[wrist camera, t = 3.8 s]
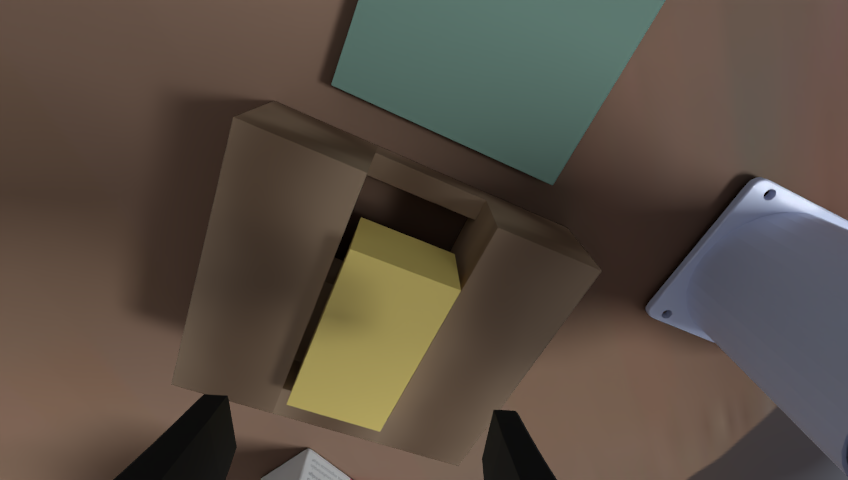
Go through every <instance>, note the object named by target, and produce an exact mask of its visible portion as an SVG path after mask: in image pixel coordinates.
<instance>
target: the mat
mask: <svg viewBox="0 0 848 480" xmlns="http://www.w3.org/2000/svg"><path fill="white" fill-rule="evenodd" d="M664 2H665V0H358V3H357V6H356V9H355V12H354V16H353V19H352V22H351V25H350V28H349V31H348V34H347V37H346V40H345V43H344V47H343V50H342V53H341V56H340V59H339V62H338V65H337V68H336V71H335V74H334V77H333V81H332V84H331V85H332V86H334V87H337V88H339V89H341V90H343V91H345V92H348V93H350V94H352V95H354V96H356V97H359V98H361V99H363V100H365V101H367V102H370V103H372V104H374V105H376V106H378V107H381V108H383V109H385V110H387V111H389V112H392V113H394V114H396V115H398V116H401V117H403V118H405V119H407V120H409V121H412V122H414V123H416V124H418V125H420V126H423V127H425V128H427V129H429V130H431V131H434V132H436V133H438V134H440V135H442V136H445V137H447V138H449V139H451V140H453V141H456V142H458V143H460V144H462V145H464V146H467V147H469V148H471V149H473V150H476V151H478V152H480V153H482V154H484V155H487V156H489V157H491V158H493V159H495V160H498V161H500V162H502V163H504V164H506V165H509V166H511V167H513V168H515V169H517V170H520V171H522V172H524V173H526V174H528V175H531V176H533V177H535V178H537V179H540V180H542V181H544V182H546V183H548V184H551V185H553V184H554V183H555V181H556V179H557V178H558V176H559V174H560V173H561V171H562V169H563V168H564V166H565V164H566V163H567V161H568V160H569V158H570V156H571V155H572V153H573V151H574V150H575V148H576V146H577V145H578V143H579V142H580V140H581V138H582V137H583V135H584V133H585V132H586V130H587V128H588V127H589V125H590V123H591V122H592V120H593V119H594V117H595V115H596V114H597V112H598V110H599V109H600V107H601V105H602V104H603V102H604V100H605V99H606V97H607V96H608V94H609V92H610V91H611V89H612V87H613V86H614V84H615V82H616V81H617V79H618V77H619V76H620V74H621V73H622V71H623V69H624V68H625V66H626V64H627V63H628V61H629V59H630V58H631V56H632V54H633V53H634V51H635V50H636V48H637V46H638V45H639V43H640V41H641V40H642V38H643V36H644V35H645V33H646V32H647V30H648V28H649V27H650V25H651V23H652V22H653V20H654V18H655V17H656V15H657V13H658V12H659V10H660V9H661V7H662V5H663V4H664Z"/></svg>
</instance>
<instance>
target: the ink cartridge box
mask: <svg viewBox="0 0 848 480" xmlns="http://www.w3.org/2000/svg"><path fill="white" fill-rule="evenodd" d="M261 480H352V479H351V478H350V477H348V476H347V475H346V474H344V473H343V472H342V471H340V470H339V469H337V468H336V467H335V466H333V465H332V464H331V463H329V462H328V461H327V460H325V459H324V458H323V457H321V456H320V455H319V454H317V453H316V452H315V451H313V450H311V449H309V448H307V449H306V450H304V451H303V452H301V453H299V454H298V455H296V456H295V457H293V458H292V459H290V460H289V461H287V462H286V463H284V464H283V465H281V466H280V467H278V468H276V469H275V470H273V471H272V472H270V473H269V474H267V475H265V476H264V477H262V478H261Z"/></svg>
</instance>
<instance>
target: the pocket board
mask: <svg viewBox="0 0 848 480" xmlns="http://www.w3.org/2000/svg"><path fill="white" fill-rule="evenodd" d="M366 175H368V176H370V177H373V178H375V179H378V180H380V181H382V182H385V183H387V184H390V185H392V186H394V187H397V188H399V189H402V190H404V191H406V192H409V193H411V194H414V195H416V196H418V197H421V198H423V199H426V200H428V201H430V202H433V203H435V204H438V205H440V206H442V207H445V208H447V209H450V210H452V211H454V212H457V213H459V214H462V215H464V216H466V217H468V219H467V220H466V222H465V224H464V226H463V228H462V230H461V232H460V234H459V235H458V237H457V239H456V241H455V243H454V245H453V247H452V249H451V250H450V252H451V253H453V254H455V258H456V264H457V270H458V276H459V282H460V287H461V292H460V293H459V295H458V297H457V299H456V300H455V302H454V304H453V306H452V307H451V309H450V311H449V313H448V314H447V316H446V318H445V320H444V321H443V323H442V325H441V327H440V328H439V330H438V332H437V334H436V335H435V337H434V339H433V340H432V342H431V344H430V346H429V347H428V349H427V351H426V353H425V354H424V356H423V358H422V360H421V361H420V363H419V365H418V367H417V368H416V370H415V372H414V374H413V375H412V377H411V379H410V381H409V382H408V384H407V386H406V388H405V389H404V391H403V393H402V395H401V396H400V398H399V400H398V401H397V403H396V405H395V407H394V408H393V410H392V412H391V414H390V415H389V417H388V419H387V421H386V422H385V424H384V426H383V428H382V429H381V431H380V432H379V431H375V430H372V429H369V428H365V427H362V426H358V425H355V424H351V423H348V422H344V421H341V420H338V419H334V418H331V417H327V416H324V415H320V414H317V413H313V412H310V411H307V410H303V409H300V408H296V407H293V406H289V405H286V404H287V401H288V399H289V396H290V393H291V391H292V388H293V385H294V382H295V380H296V377H297V374H298V371H299V369H300V366H301V363H302V361H303V358H304V355H305V353H306V350H307V348H308V346H309V343H310V341H311V338H312V336H313V333H314V331H315V328H316V326H317V324H318V321H319V319H320V316H321V314H322V311H323V309H324V306H325V304H326V301H327V299H328V297H329V294H330V292H331V289H332V287H333V284H334V282H335V279H336V277H337V274H338V272H339V270H340V267H341V265H342V262H343V261H342V260H339V259H337V258H334V256H335V254H336V251H337V249H338V246H339V244H340V241H341V239H342V236H343V234H344V231H345V229H346V226H347V224H348V221H349V218H350V216H351V213H352V211H353V208H354V206H355V203H356V201H357V198H358V196H359V193H360V191H361V188H362V186H363V183H364V180H365V178H366ZM601 271H602V270H601V269H600V268H599V267H598V266H597V264H596V263H595V262H594V261H593V259H592V258H591V257H590V256H589V254H588V253H587V252H586V251H585V249H584V248H583V247H582V246H581V244H580V243H579V242H578V241H577V239H576V238H575V237H574V236H573V235H572V233H571V232H570V231H569V230H568V228H567V227H564V226H562V225H560V224H557V223H555V222H553V221H550V220H548V219H546V218H543V217H541V216H539V215H537V214H534V213H532V212H530V211H527V210H525V209H523V208H520V207H518V206H516V205H513V204H511V203H509V202H507V201H504V200H502V199H500V198H497V197H495V196H493V195H490V194H488V193H486V192H483V191H481V190H479V189H477V188H474V187H472V186H470V185H467V184H465V183H463V182H460V181H458V180H456V179H453V178H451V177H449V176H447V175H444V174H442V173H440V172H437V171H435V170H433V169H430V168H428V167H426V166H423V165H421V164H419V163H417V162H414V161H412V160H410V159H407V158H405V157H403V156H400V155H398V154H396V153H393V152H391V151H389V150H387V149H384V148H382V147H380V146H377V145H375V144H373V143H370V142H368V141H366V140H363V139H361V138H359V137H357V136H354V135H352V134H350V133H347V132H345V131H343V130H340V129H338V128H336V127H333V126H331V125H329V124H327V123H324V122H322V121H320V120H317V119H315V118H313V117H310V116H308V115H306V114H303V113H301V112H299V111H297V110H294V109H292V108H290V107H287V106H285V105H283V104H280V103H278V102H276V101H272V102H270V103H267V104H265V105H262V106H260V107H257V108H255V109H252V110H250V111H247V112H245V113H242V114H239V115H237V116H234V117H233V120H232V124H231V128H230V133H229V137H228V141H227V146H226V150H225V154H224V159H223V163H222V167H221V172H220V176H219V180H218V185H217V189H216V193H215V198H214V202H213V206H212V211H211V215H210V219H209V224H208V228H207V232H206V236H205V241H204V245H203V249H202V254H201V258H200V262H199V267H198V271H197V275H196V280H195V284H194V288H193V293H192V297H191V301H190V306H189V310H188V314H187V319H186V323H185V327H184V332H183V336H182V340H181V344H180V349H179V353H178V357H177V362H176V366H175V370H174V375H173V379H172V383H171V385H174V386H178V387H182V388H185V389H189V390H192V391H196V392H199V393H203V394H208V395H227V396H228V399H229V401H231V402H234V403H238V404H241V405H245V406H248V407H252V408H255V409H259V410H262V411H266V412H269V413H273V414H276V415H280V416H284V417H287V418H291V419H294V420H298V421H301V422H305V423H308V424H312V425H315V426H319V427H322V428H326V429H329V430H333V431H336V432H340V433H343V434H347V435H350V436H354V437H357V438H361V439H364V440H368V441H371V442H375V443H378V444H382V445H386V446H389V447H393V448H396V449H400V450H403V451H407V452H410V453H414V454H417V455H421V456H424V457H428V458H431V459H435V460H438V461H442V462H445V463H449V464H452V465H456V466H459V465H460V463H461V462H462V460H463V459H464V458H465V456H466V455H467V454H468V452H469V451H470V450H471V448H472V447H473V445H474V444H475V443H476V441H477V440H478V439H479V437H480V436H481V435H482V433H483V432H484V431H485V429H486V428H487V426H488V425H489V424H490V422H491V419H492V414H493V410H500V409H501V407H502V406H503V405H504V403H505V402H506V401H507V399H508V398H509V397H510V395H511V394H512V392H513V391H514V390H515V388H516V387H517V386H518V384H519V383H520V382H521V380H522V379H523V377H524V376H525V375H526V373H527V372H528V371H529V369H530V368H531V367H532V365H533V364H534V363H535V361H536V360H537V358H538V357H539V356H540V354H541V353H542V352H543V350H544V349H545V348H546V346H547V345H548V343H549V342H550V341H551V339H552V338H553V337H554V335H555V334H556V333H557V331H558V330H559V329H560V327H561V326H562V324H563V323H564V322H565V320H566V319H567V318H568V316H569V315H570V314H571V312H572V311H573V309H574V308H575V307H576V305H577V304H578V303H579V301H580V300H581V299H582V297H583V296H584V294H585V293H586V292H587V290H588V289H589V288H590V286H591V285H592V284H593V282H594V281H595V280H596V278H597V277H598V275H599V274H600V273H601Z"/></svg>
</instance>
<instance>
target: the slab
mask: <svg viewBox="0 0 848 480" xmlns="http://www.w3.org/2000/svg"><path fill="white" fill-rule="evenodd" d="M460 292H461V287H460V282H459V276H458V270H457V264H456V258H455V254H453V253H451V252H448V251H446V250H443V249H441V248H438V247H436V246H433V245H431V244H428V243H425V242H423V241H420V240H418V239H415V238H413V237H410V236H408V235H405V234H403V233H400V232H398V231H395V230H392V229H390V228H387V227H385V226H382V225H380V224H377V223H375V222H372V221H370V220H367V219H365V218H362V217H361V218H360V220H359V223H358V225H357V228H356V230H355V233H354V235H353V238H352V240H351V243H350V245H349V247H348V250H347V252H346V255H345V257H344V260H343V262H342V265H341V267H340V270H339V272H338V274H337V277H336V279H335V282H334V284H333V287H332V289H331V292H330V294H329V297H328V299H327V301H326V304H325V306H324V309H323V311H322V314H321V316H320V319H319V321H318V324H317V326H316V328H315V331H314V333H313V336H312V338H311V341H310V343H309V346H308V348H307V350H306V353H305V355H304V358H303V361H302V363H301V366H300V369H299V371H298V374H297V377H296V380H295V382H294V385H293V388H292V391H291V393H290V396H289V399H288V401H287V404H286V405H289V406H293V407H296V408H300V409H303V410H307V411H310V412H313V413H317V414H320V415H324V416H327V417H331V418H334V419H338V420H341V421H344V422H348V423H351V424H355V425H358V426H362V427H365V428H369V429H372V430H375V431H379V432H380V431H381V429H382V428H383V426H384V424H385V422H386V421H387V419H388V417H389V415H390V414H391V412H392V410H393V408H394V407H395V405H396V403H397V401H398V400H399V398H400V396H401V395H402V393H403V391H404V389H405V388H406V386H407V384H408V382H409V381H410V379H411V377H412V375H413V374H414V372H415V370H416V368H417V367H418V365H419V363H420V361H421V360H422V358H423V356H424V354H425V353H426V351H427V349H428V347H429V346H430V344H431V342H432V340H433V339H434V337H435V335H436V334H437V332H438V330H439V328H440V327H441V325H442V323H443V321H444V320H445V318H446V316H447V314H448V313H449V311H450V309H451V307H452V306H453V304H454V302H455V300H456V299H457V297H458V295H459V293H460Z"/></svg>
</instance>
